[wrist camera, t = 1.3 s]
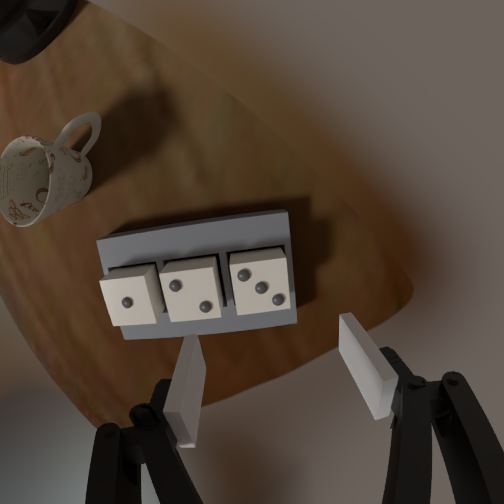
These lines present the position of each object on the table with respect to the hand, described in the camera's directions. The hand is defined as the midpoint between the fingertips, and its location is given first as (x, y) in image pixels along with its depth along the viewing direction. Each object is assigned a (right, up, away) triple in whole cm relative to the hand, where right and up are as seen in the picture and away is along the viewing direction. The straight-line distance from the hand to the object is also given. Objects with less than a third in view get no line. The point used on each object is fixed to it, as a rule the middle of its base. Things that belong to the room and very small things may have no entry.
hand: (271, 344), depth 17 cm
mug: (-21, +16, +11) cm, 28 cm away
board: (-7, +3, +15) cm, 17 cm away
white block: (-13, +2, +13) cm, 18 cm away
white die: (-7, +3, +13) cm, 15 cm away
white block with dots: (-1, +3, +13) cm, 13 cm away
